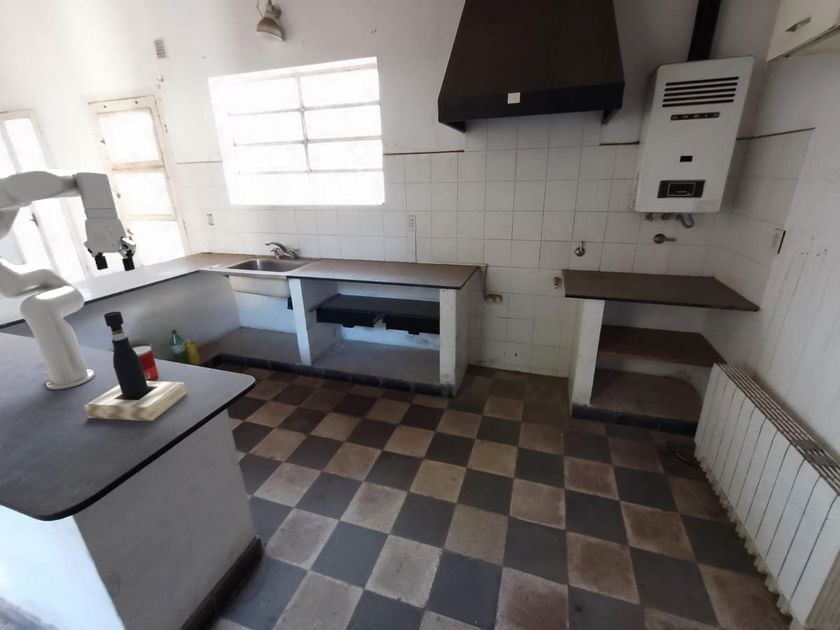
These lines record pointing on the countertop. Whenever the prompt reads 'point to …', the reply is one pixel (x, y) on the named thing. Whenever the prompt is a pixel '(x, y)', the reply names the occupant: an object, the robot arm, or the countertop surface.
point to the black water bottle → (126, 361)
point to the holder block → (136, 402)
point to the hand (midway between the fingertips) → (116, 269)
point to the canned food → (147, 362)
